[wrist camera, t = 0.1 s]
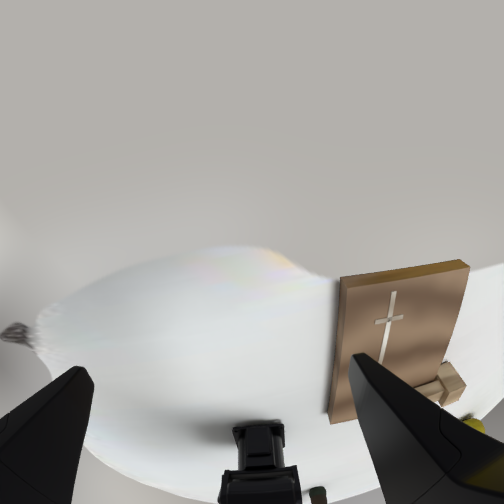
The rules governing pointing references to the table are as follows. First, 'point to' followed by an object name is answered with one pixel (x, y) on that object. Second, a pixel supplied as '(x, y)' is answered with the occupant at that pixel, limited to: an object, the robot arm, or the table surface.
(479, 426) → the lemon
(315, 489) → the potato masher grenade
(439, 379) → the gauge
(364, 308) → the board
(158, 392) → the table surface
